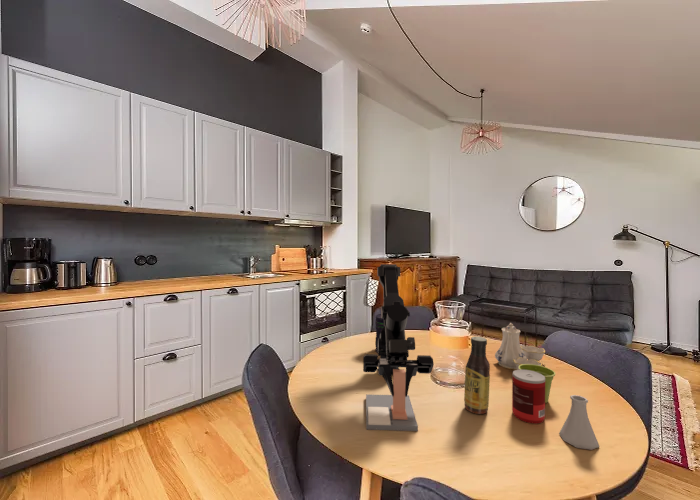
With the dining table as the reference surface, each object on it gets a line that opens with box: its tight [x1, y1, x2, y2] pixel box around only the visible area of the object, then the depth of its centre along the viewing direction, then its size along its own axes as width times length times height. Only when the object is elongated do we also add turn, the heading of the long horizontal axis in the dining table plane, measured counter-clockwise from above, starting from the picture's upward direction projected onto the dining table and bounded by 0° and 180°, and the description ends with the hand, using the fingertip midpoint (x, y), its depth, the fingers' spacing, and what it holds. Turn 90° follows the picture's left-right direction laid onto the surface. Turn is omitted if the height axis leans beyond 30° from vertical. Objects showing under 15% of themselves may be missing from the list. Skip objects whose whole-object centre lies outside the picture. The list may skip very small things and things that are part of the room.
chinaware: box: [494, 322, 546, 370], centre depth 119 cm, size 28×17×17 cm, turn 150°
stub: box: [391, 368, 407, 420], centre depth 83 cm, size 6×4×11 cm, turn 177°
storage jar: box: [374, 313, 384, 354], centre depth 138 cm, size 10×10×15 cm
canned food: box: [511, 369, 546, 425], centre depth 85 cm, size 8×8×11 cm
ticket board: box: [365, 394, 419, 432], centre depth 86 cm, size 16×12×2 cm
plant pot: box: [518, 364, 556, 404], centre depth 95 cm, size 9×9×9 cm
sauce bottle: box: [463, 336, 491, 415], centre depth 88 cm, size 7×6×20 cm
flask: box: [558, 394, 600, 450], centre depth 74 cm, size 7×7×10 cm
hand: (399, 396), depth 82 cm, fingers closed on stub, 3 cm apart
